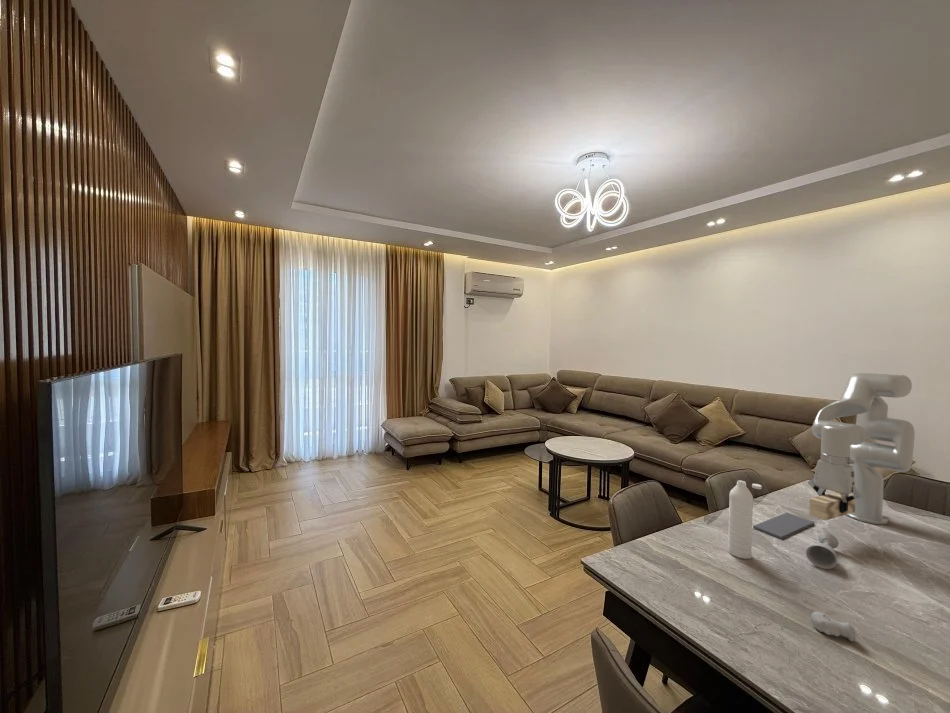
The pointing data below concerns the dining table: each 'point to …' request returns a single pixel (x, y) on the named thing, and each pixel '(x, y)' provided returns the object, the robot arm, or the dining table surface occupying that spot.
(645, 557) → the dining table surface
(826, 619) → the smooth white sculpture
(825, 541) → the chalice
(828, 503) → the grooved wooden block
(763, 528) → the tool pad
